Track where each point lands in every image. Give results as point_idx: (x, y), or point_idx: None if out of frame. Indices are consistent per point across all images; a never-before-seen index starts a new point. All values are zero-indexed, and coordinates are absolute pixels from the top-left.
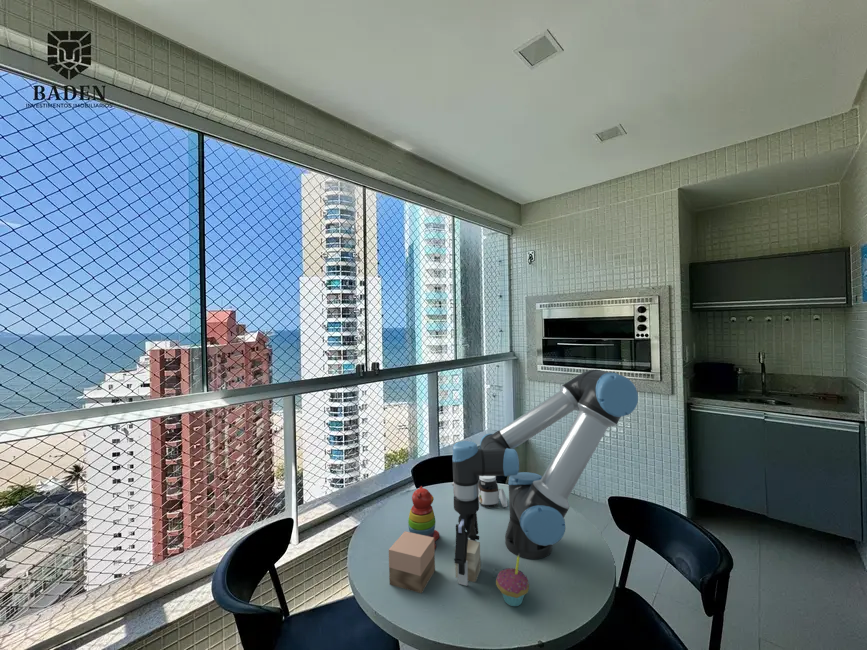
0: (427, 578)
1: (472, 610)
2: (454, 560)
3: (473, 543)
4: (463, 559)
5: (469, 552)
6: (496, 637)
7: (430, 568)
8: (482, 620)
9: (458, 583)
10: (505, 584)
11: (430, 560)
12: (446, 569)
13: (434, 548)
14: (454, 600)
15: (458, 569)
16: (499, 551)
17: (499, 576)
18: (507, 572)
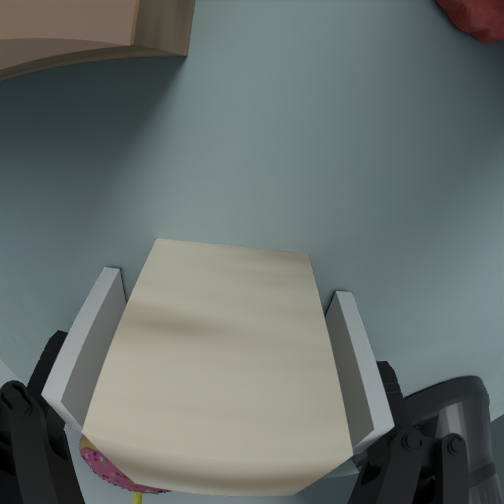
0: (21, 73)
1: (28, 326)
2: (3, 386)
3: (265, 490)
4: (6, 451)
5: (129, 476)
6: (14, 367)
7: (48, 64)
8: (23, 348)
9: (105, 268)
10: (86, 461)
11: (1, 69)
12: (223, 151)
13: (461, 24)
14: (17, 263)
15: (70, 337)
16: (408, 378)
17: (105, 465)
18: (124, 485)
